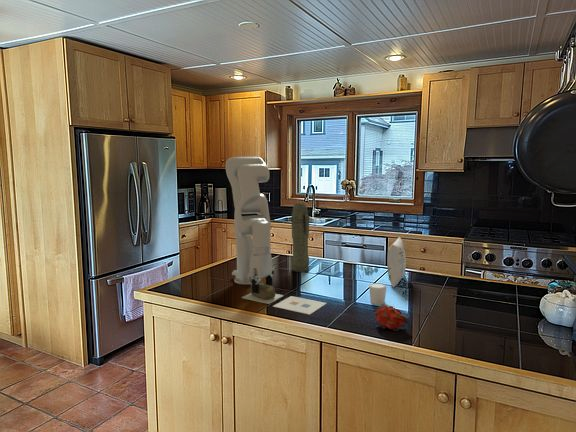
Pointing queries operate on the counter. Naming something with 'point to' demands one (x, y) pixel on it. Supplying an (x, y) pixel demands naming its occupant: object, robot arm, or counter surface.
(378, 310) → the dragon fruit
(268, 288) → the stone block
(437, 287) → the counter surface
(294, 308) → the tile
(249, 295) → the pale green pad
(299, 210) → the olive stone pillar
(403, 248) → the pouch
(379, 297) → the white cylinder
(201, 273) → the counter surface
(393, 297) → the counter surface
